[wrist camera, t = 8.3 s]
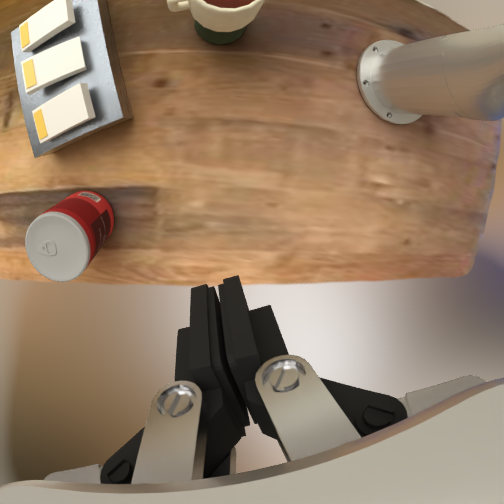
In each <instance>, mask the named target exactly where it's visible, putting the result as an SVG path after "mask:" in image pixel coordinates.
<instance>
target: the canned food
mask: <svg viewBox="0 0 504 504" xmlns="http://www.w3.org/2000/svg"><path fill="white" fill-rule="evenodd" d="M113 225H114V215H113V210H112V208H111V206H110V204H109V202H108V201H107V200H106V199H105V198H104V197H103V196H101V195H100V194H98V193H95V192H91V191H79V192H76V193H74V194H72V195H70V196H69V197H67V198H66V199H64V200H62V201H61V202H59V203H58V204H56V205H54V206H53V207H51V208H50V209H48V210H47V211H45V212H44V213H42V214H41V215H40V216H38V217H37V218H36V219H35V220H34V221H33V222H32V223H31V225H30V226H29V228H28V230H27V233H26V238H25V246H26V252H27V255H28V258H29V260H30V262H31V263H32V265H33V266H34V267H35V269H36V270H37V271H38V272H39V273H40V274H42V275H43V276H44V277H46V278H48V279H50V280H53V281H57V282H67V281H71V280H73V279H75V278H77V277H78V276H80V274H82V273H83V271H84V270H85V269H86V268H87V266H88V265H89V264H90V262H91V261H92V259H93V258H94V257H95V255H96V254H97V252H98V251H99V250H100V248H101V247H102V245H103V244H104V243H105V241H106V240H107V238H108V237H109V236H110V234H111V232H112V229H113Z"/></svg>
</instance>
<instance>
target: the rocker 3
mask: <svg viewBox="0 0 504 504" xmlns="http://www.w3.org/2000/svg"><path fill="white" fill-rule="evenodd" d="M32 113H33V117H34V122H35V126H36V130H37V134H38V137H39V141H40V144H41V143H44V142H48V141H50V140H52V139H53V138H55V137H57V136H59V135H61V134H63V133H65V132H66V131H68V130H70V129H72V128H74V127H76V126H78V125H80V124H82V123H84V122H86V121H89V120H91V119H93V118H95V113H94V109H93V105H92V101H91V97H90V93H89V89H88V84H87V83H79V84H77V85H75V86H73V87H71V88H69V89H68V90H66V91H64V92H62V93H61V94H59V95H57V96H56V97H54V98H52V99H51V100H49V101H47V102H46V103H44V104H42V105H41V106H39V107H38V108H36V109H35V110H33V111H32Z"/></svg>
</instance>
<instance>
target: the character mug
mask: <svg viewBox="0 0 504 504" xmlns="http://www.w3.org/2000/svg"><path fill="white" fill-rule="evenodd" d="M183 1H184V2H183ZM178 2H179V3H178ZM263 2H264V0H167V4H168V7H169V9H170V10H171V11H172V12H175V11H182V10H187V9H190V11H191V13H192V15H193V18H194V19H195V28H196V30H197V32H198V35H199V36H201V37H202V38H203V39H205V40H206V41H207V42H210V43H214V44H218V45H220V44H226V43H231V42H233V41H235V40H236V39H238V38H239V37H241V35H242V34H243V32H244V31H245V29H246V27H247V24H248V23H250V22H251V21H252V20H254V18H255V16H256V15H257V13H258V11H259V9H260V8H261V6H262V4H263Z"/></svg>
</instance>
